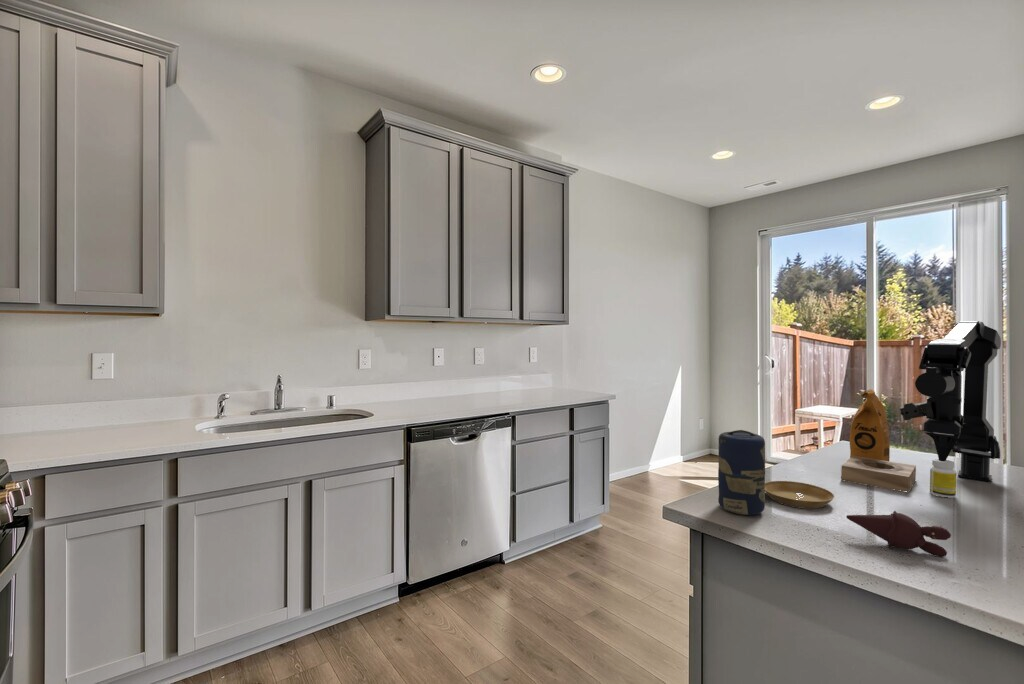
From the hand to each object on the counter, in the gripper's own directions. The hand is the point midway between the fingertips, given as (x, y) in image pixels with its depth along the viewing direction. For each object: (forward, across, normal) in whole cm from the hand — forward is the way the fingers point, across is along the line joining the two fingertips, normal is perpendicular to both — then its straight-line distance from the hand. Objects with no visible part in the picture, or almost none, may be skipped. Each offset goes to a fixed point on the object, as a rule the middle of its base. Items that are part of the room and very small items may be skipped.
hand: (943, 457), depth 117 cm
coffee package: (+10, -21, -18) cm, 29 cm away
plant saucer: (+10, +29, -24) cm, 39 cm away
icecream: (+9, +44, -4) cm, 45 cm away
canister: (+9, +45, -31) cm, 56 cm away
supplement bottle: (+10, 0, 0) cm, 10 cm away
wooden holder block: (+9, -3, -13) cm, 16 cm away
